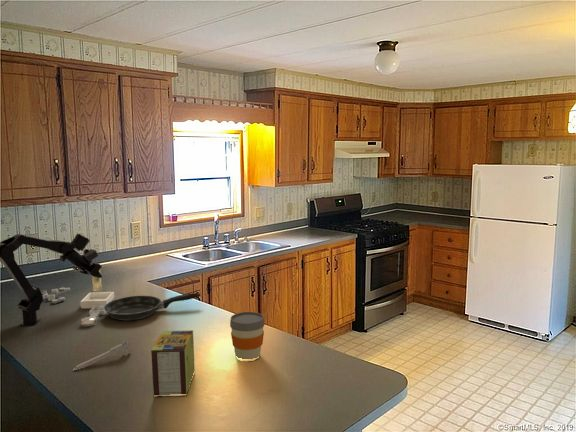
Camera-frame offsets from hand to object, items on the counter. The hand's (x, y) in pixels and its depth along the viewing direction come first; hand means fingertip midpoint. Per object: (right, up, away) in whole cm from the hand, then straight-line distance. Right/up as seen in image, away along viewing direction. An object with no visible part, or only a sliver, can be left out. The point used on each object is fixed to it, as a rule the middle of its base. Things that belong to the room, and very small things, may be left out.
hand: (99, 276), depth 230 cm
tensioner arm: (+6, -16, -19) cm, 26 cm away
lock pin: (-1, -7, 0) cm, 7 cm away
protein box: (+57, -25, -79) cm, 101 cm away
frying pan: (+28, -16, -12) cm, 34 cm away
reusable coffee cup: (+79, -22, -59) cm, 101 cm away
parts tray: (-1, -14, +1) cm, 14 cm away
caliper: (+27, -23, -63) cm, 72 cm away
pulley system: (-29, -13, +12) cm, 34 cm away
